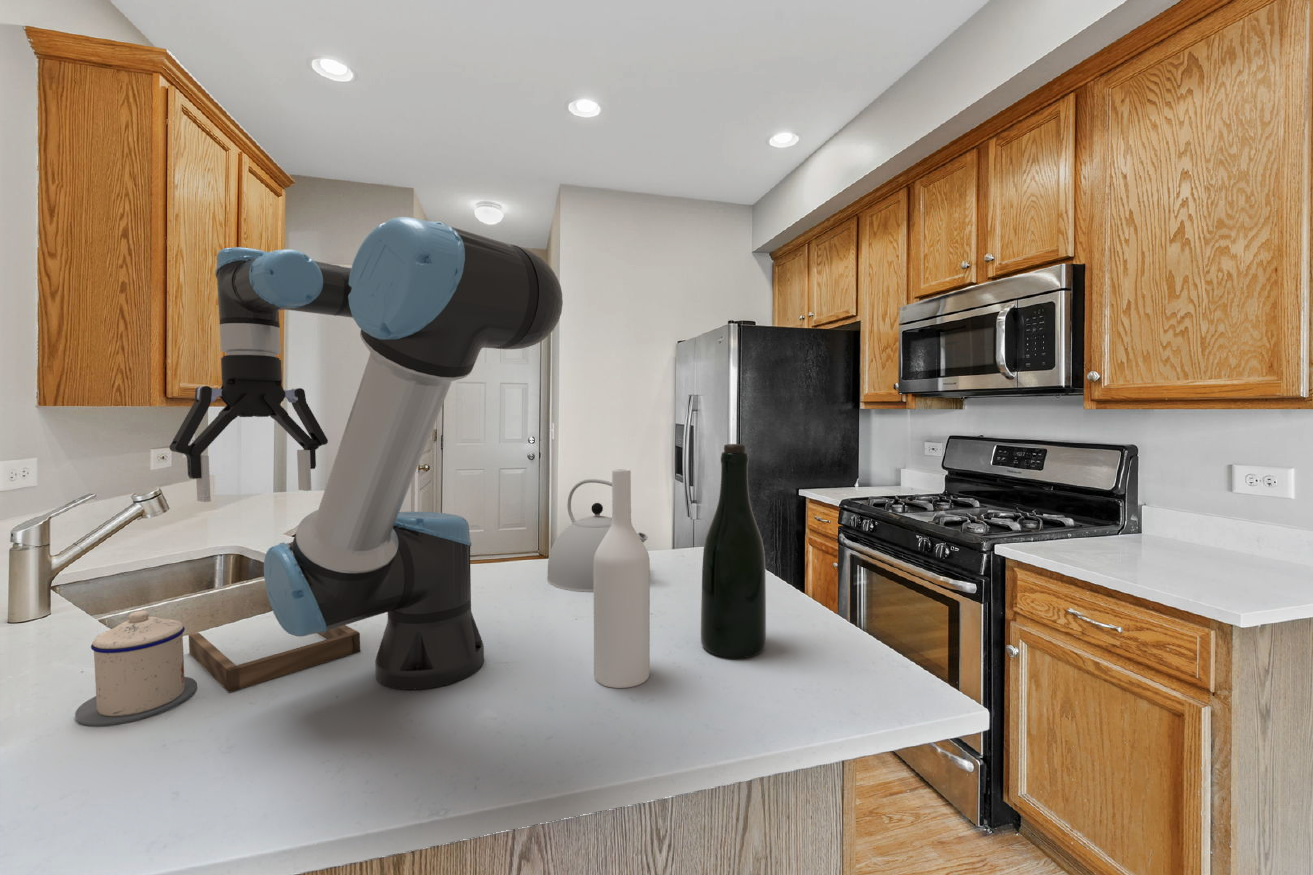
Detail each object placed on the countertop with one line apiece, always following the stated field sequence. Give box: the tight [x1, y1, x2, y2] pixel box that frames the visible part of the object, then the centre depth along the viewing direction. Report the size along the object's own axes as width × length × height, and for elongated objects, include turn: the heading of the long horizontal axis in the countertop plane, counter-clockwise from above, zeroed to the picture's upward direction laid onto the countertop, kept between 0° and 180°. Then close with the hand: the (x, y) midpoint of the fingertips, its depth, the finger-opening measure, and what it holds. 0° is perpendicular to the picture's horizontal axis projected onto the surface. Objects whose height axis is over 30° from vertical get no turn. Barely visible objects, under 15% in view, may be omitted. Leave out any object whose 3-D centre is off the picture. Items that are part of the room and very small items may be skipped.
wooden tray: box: [188, 625, 361, 693], centre depth 93 cm, size 20×17×3 cm
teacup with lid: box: [90, 610, 186, 716], centre depth 77 cm, size 12×9×12 cm
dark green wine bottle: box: [700, 443, 767, 659], centre depth 94 cm, size 10×10×33 cm
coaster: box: [74, 676, 198, 727], centre depth 77 cm, size 12×12×1 cm
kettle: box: [546, 478, 649, 593], centre depth 133 cm, size 25×23×23 cm
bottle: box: [593, 468, 651, 689], centre depth 84 cm, size 8×8×30 cm
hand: (257, 495), depth 90 cm, fingers open, 13 cm apart
